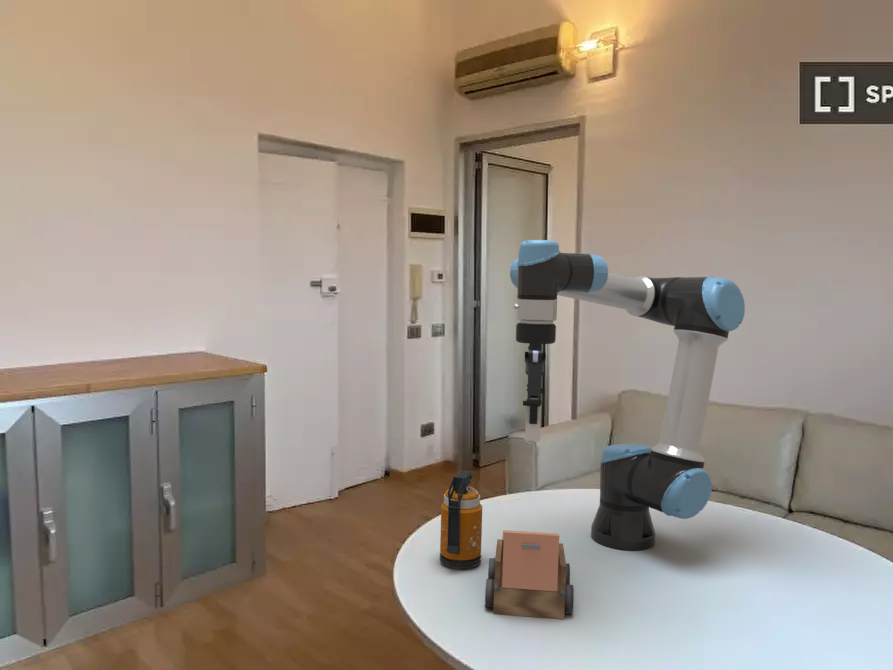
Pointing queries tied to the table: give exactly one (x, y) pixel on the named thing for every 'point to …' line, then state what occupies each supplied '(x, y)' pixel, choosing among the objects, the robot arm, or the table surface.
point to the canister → (461, 524)
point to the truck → (528, 592)
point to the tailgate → (530, 560)
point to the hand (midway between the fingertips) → (532, 433)
